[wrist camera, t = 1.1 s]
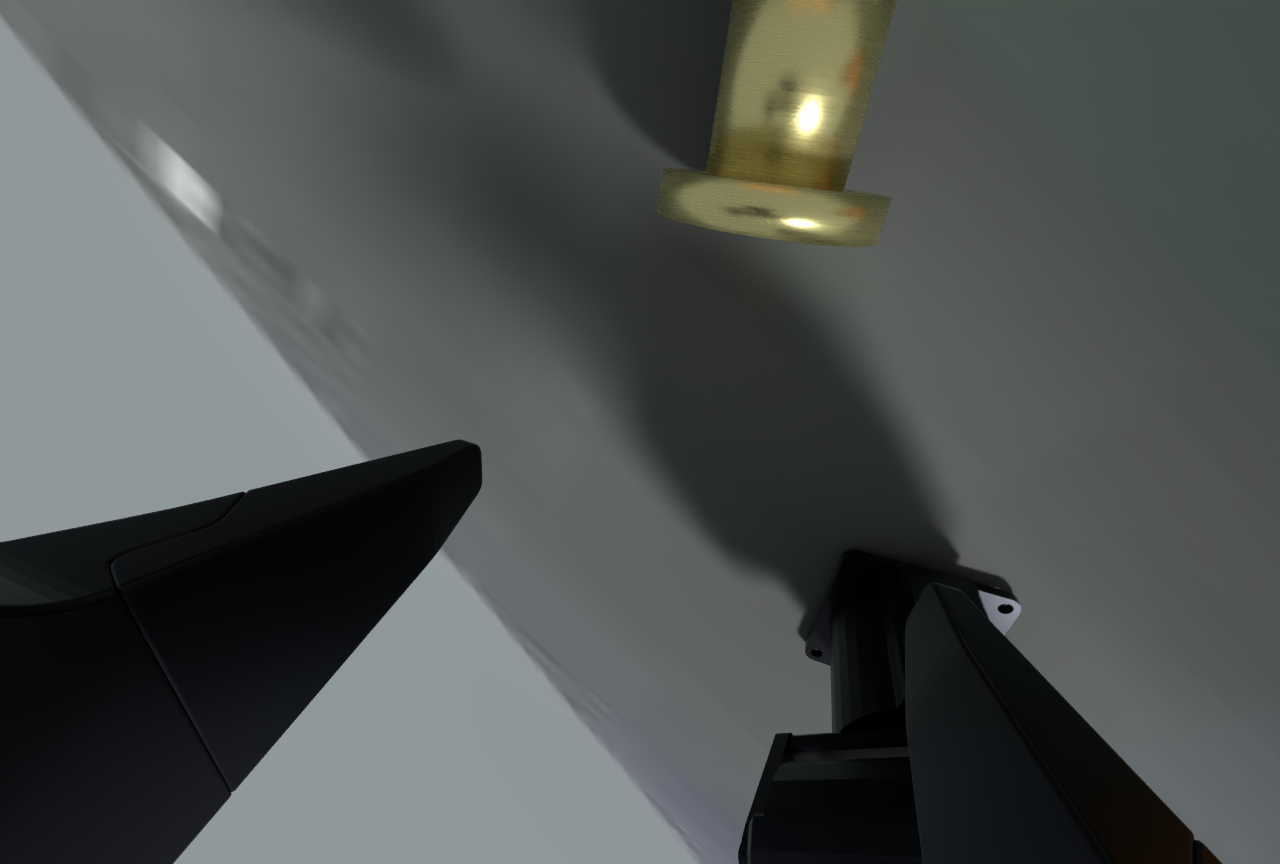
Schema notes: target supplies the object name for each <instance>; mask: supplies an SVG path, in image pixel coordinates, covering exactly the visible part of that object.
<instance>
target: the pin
mask: <svg viewBox="0 0 1280 864" xmlns="http://www.w3.org/2000/svg"><path fill="white" fill-rule="evenodd" d="M896 3H897V0H732V6H731V13H730V19H729V26H728V32H727V39H726V45H725V52H724V58H723V65H722V71H721V78H720V84H719V91H718V97H717V104H716V110H715V117H714V123H713V130H712V136H711V143H710V149H709V156H708V162H707V168H706V171H696V170H686V169H675V168H662V173H661V182H660V190H659V199H658V208H657V213H658V214H660V215H661V216H664V217H666V218H669V219H672V220H675V221H678V222H682V223H686V224H690V225H694V226H699V227H703V228H708V229H713V230H718V231H723V232H729V233H734V234H740V235H746V236H752V237H759V238H766V239H773V240H781V241H789V242H797V243H807V244H817V245H830V246H851V247H861V246H873V245H876V244H877V243H878V240H879V237H880V234H881V231H882V228H883V225H884V222H885V219H886V216H887V213H888V209H889V206H890V203H891V200H892V197H888V196H883V195H877V194H871V193H865V192H859V191H852V190H846V189H844V188H845V184H846V181H847V177H848V173H849V170H850V166H851V163H852V159H853V156H854V152H855V149H856V145H857V142H858V138H859V134H860V131H861V127H862V124H863V120H864V117H865V113H866V110H867V106H868V102H869V99H870V95H871V92H872V88H873V85H874V81H875V78H876V74H877V70H878V67H879V63H880V60H881V56H882V53H883V49H884V46H885V42H886V38H887V35H888V31H889V28H890V24H891V21H892V17H893V14H894V10H895V6H896Z"/></svg>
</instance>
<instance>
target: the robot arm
mask: <svg viewBox="0 0 1280 864" xmlns="http://www.w3.org/2000/svg"><path fill="white" fill-rule="evenodd" d="M481 485H482V459H481V450H480V447H479V446H478V445H476V444H474V443H470V442H467V441H464V440H454V441H450V442H445V443H441V444H437V445H433V446H429V447H425V448H421V449H417V450H413V451H408V452H404V453H400V454H396V455H392V456H388V457H384V458H380V459H376V460H372V461H367V462H363V463H360V464H355V465H351V466H347V467H343V468H339V469H335V470H331V471H326V472H322V473H318V474H314V475H310V476H306V477H302V478H298V479H293V480H290V481H285V482H281V483H277V484H273V485H269V486H265V487H261V488H256V489H252V490H249V491H248V492H247V493H245V492H239V493H235V494H232V495H227V496H223V497H220V498H215V499H211V500H206V501H202V502H198V503H193V504H189V505H185V506H180V507H176V508H171V509H166V510H162V511H157V512H152V513H147V514H142V515H137V516H133V517H128V518H123V519H118V520H113V521H108V522H102V523H97V524H92V525H88V526H82V527H77V528H72V529H67V530H62V531H57V532H51V533H46V534H41V535H36V536H31V537H26V538H21V539H16V540H11V541H5V542H0V864H173V863H174V862H175V861H176V860H177V858H178V857H179V856H180V855H181V854H182V853H183V851H184V850H185V849H186V848H187V846H189V844H190V843H191V842H192V841H193V840H194V839H195V837H196V836H197V835H198V834H199V833H200V832H201V830H202V829H203V828H204V827H205V826H206V825H207V823H208V822H209V821H210V820H211V819H212V817H213V816H214V815H215V814H216V813H217V812H218V810H219V809H220V808H221V807H222V806H223V805H224V803H225V802H226V801H227V800H228V799H229V798H230V796H231V792H233V791H235V790H236V789H237V788H238V786H239V785H240V784H241V783H242V782H243V780H244V779H245V778H246V777H247V776H248V775H249V774H250V772H251V771H252V770H253V769H254V767H255V766H256V765H257V764H258V763H259V762H260V760H261V759H262V758H263V757H264V756H265V755H266V754H267V752H268V751H269V750H270V749H271V747H272V746H273V745H274V744H275V743H276V742H277V741H278V740H279V738H280V737H281V736H282V735H283V733H284V732H285V731H286V730H287V729H288V728H289V726H290V725H291V724H292V723H293V722H294V721H295V720H296V718H297V717H298V716H299V715H300V714H301V713H302V711H303V710H304V709H305V708H306V707H307V705H308V704H309V703H310V702H311V701H312V700H313V698H314V697H315V696H316V695H317V694H318V693H319V691H320V690H321V689H322V688H323V687H324V686H325V684H326V683H327V682H328V681H329V680H330V679H331V677H332V676H333V675H334V674H335V673H336V671H337V670H338V669H339V668H340V667H341V666H342V664H343V663H344V662H345V661H346V660H347V659H348V657H349V656H350V655H351V654H352V653H353V652H354V650H355V649H356V648H357V647H358V646H359V644H360V643H361V642H362V641H363V640H364V639H365V637H366V636H367V635H368V634H369V633H370V631H371V630H372V629H373V628H374V627H375V626H376V624H377V623H378V622H379V621H380V620H381V619H382V618H383V616H384V615H385V614H386V613H387V612H388V610H389V609H390V608H391V607H392V606H393V605H394V603H395V602H396V601H397V600H398V599H399V597H400V596H401V595H402V594H403V593H404V592H405V591H406V589H407V588H408V587H409V586H410V585H411V583H412V582H413V581H414V580H415V579H416V578H417V576H418V575H419V574H420V573H421V572H422V571H423V569H424V568H425V567H426V566H427V565H428V563H429V562H430V561H431V560H432V559H433V557H434V556H435V555H436V554H437V552H438V551H439V549H440V548H441V547H442V545H443V544H444V543H445V541H446V540H447V538H448V537H449V535H450V534H451V532H452V531H453V529H454V528H455V526H456V525H457V524H458V522H459V521H460V519H461V518H462V516H463V515H464V513H465V512H466V510H467V509H468V508H469V506H470V505H471V503H472V502H473V500H474V499H475V497H476V496H477V494H478V493H479V491H480V489H481ZM851 561H858V562H860V563H858V564H852V563H850V562H851ZM1001 604H1008V605H1007V606H1000V605H1001ZM1020 612H1021V606H1020V604H1019V602H1018V599H1017V598H1016V597H1015V596H1014V595H1013V594H1011V593H1009V592H1006V591H1002V590H999V589H995V588H992V587H988V586H985V585H981V584H977V583H974V582H972V581H969V580H965V579H962V578H958V577H954V576H951V575H947V574H944V573H940V572H937V571H933V570H929V569H926V568H922V567H919V566H915V565H912V564H908V563H903V562H899V561H896V560H892V559H888V558H885V557H881V556H878V555H874V554H871V553H867V552H863V551H860V550H854V549H853V550H848V551H846V552H844V554H843V555H842V557H841V559H840V561H839V564H838V566H837V569H836V571H835V573H834V576H833V578H832V581H831V583H830V585H829V588H828V590H827V593H826V595H825V597H824V600H823V602H822V605H821V607H820V609H819V612H818V614H817V616H816V619H815V621H814V624H813V626H812V628H811V631H810V633H809V636H808V638H807V640H806V644H805V653H806V655H807V656H808V657H809V658H810V659H812V660H815V661H818V662H821V663H824V664H827V665H830V666H831V702H832V733H821V734H807V735H793V734H792V733H780V734H776V735H775V738H774V741H773V744H772V747H771V750H770V753H769V756H768V759H767V762H766V765H765V768H764V771H763V774H762V777H761V780H760V782H759V785H758V788H757V791H756V794H755V797H754V800H753V803H752V806H751V809H750V812H749V815H748V818H747V821H746V824H745V828H744V832H743V836H742V841H741V844H740V848H739V852H738V860H739V864H1222V863H1221V862H1220V861H1219V860H1218V859H1217V858H1216V856H1215V855H1214V854H1213V853H1212V852H1211V851H1210V850H1209V849H1208V848H1207V847H1206V846H1205V845H1204V844H1203V843H1202V842H1200V841H1198V840H1194V835H1193V833H1192V832H1191V831H1190V829H1189V828H1188V827H1187V826H1186V825H1185V824H1184V823H1183V822H1182V821H1181V820H1180V819H1179V818H1178V817H1177V816H1176V815H1175V814H1174V813H1173V812H1172V811H1171V810H1170V809H1169V808H1168V806H1167V805H1166V804H1165V803H1164V802H1163V801H1162V800H1161V799H1160V798H1159V797H1158V796H1157V795H1156V794H1155V793H1154V792H1153V791H1152V790H1151V789H1150V788H1149V787H1148V786H1147V784H1146V783H1145V782H1144V781H1143V780H1142V779H1141V778H1140V777H1139V776H1138V775H1137V774H1136V773H1135V772H1134V771H1133V770H1132V769H1131V768H1130V767H1129V766H1128V765H1127V764H1126V762H1125V761H1124V760H1123V759H1122V758H1121V757H1120V756H1119V755H1118V754H1117V753H1116V752H1115V751H1114V750H1113V749H1112V748H1111V747H1110V746H1109V745H1108V744H1107V743H1106V742H1105V741H1104V739H1103V738H1102V737H1101V736H1100V735H1099V734H1098V733H1097V732H1096V731H1095V730H1094V729H1093V728H1092V727H1091V726H1090V725H1089V724H1088V723H1087V722H1086V721H1085V720H1084V719H1083V717H1082V716H1081V715H1080V714H1079V713H1078V712H1077V711H1076V710H1075V709H1074V708H1073V707H1072V706H1071V705H1070V704H1069V703H1068V702H1067V701H1066V700H1065V699H1064V698H1063V697H1062V695H1061V694H1060V693H1059V692H1058V691H1057V690H1056V689H1055V688H1054V687H1053V686H1052V685H1051V684H1050V683H1049V682H1048V681H1047V680H1046V679H1045V678H1044V677H1043V676H1042V675H1041V674H1040V672H1039V671H1038V670H1037V669H1036V668H1035V667H1034V666H1033V665H1032V664H1031V663H1030V662H1029V661H1028V660H1027V659H1026V658H1025V657H1024V656H1023V655H1022V654H1021V653H1020V652H1019V650H1018V649H1017V648H1016V647H1015V646H1014V645H1013V644H1012V643H1011V642H1010V641H1009V640H1008V639H1007V638H1006V637H1005V636H1004V635H1005V634H1006V632H1007V631H1008V629H1009V628H1010V627H1011V625H1012V624H1013V622H1014V621H1015V620H1016V618H1017V617H1018V615H1019V614H1020ZM815 649H818V650H815Z"/></svg>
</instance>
